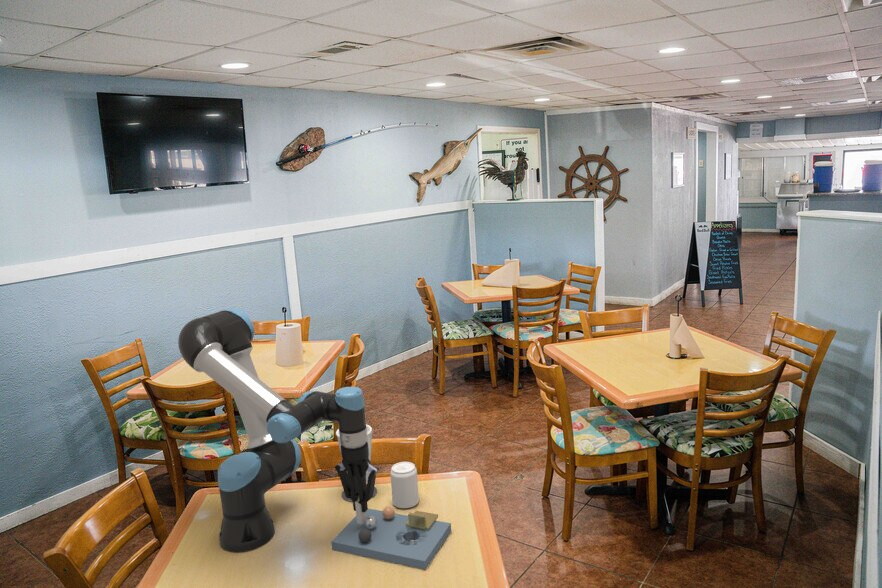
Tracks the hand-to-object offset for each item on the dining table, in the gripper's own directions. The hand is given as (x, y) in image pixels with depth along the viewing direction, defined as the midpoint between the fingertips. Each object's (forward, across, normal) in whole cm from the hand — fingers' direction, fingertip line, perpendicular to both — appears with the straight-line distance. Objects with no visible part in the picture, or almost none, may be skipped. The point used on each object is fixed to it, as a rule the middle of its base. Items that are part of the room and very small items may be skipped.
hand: (361, 521), depth 173 cm
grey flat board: (+4, +9, 0) cm, 10 cm away
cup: (+4, -13, +20) cm, 24 cm away
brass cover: (+2, +15, +7) cm, 17 cm away
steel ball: (0, +3, 0) cm, 3 cm away
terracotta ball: (0, +5, +6) cm, 8 cm away
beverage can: (+5, +4, +19) cm, 20 cm away
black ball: (0, +4, -6) cm, 7 cm away
